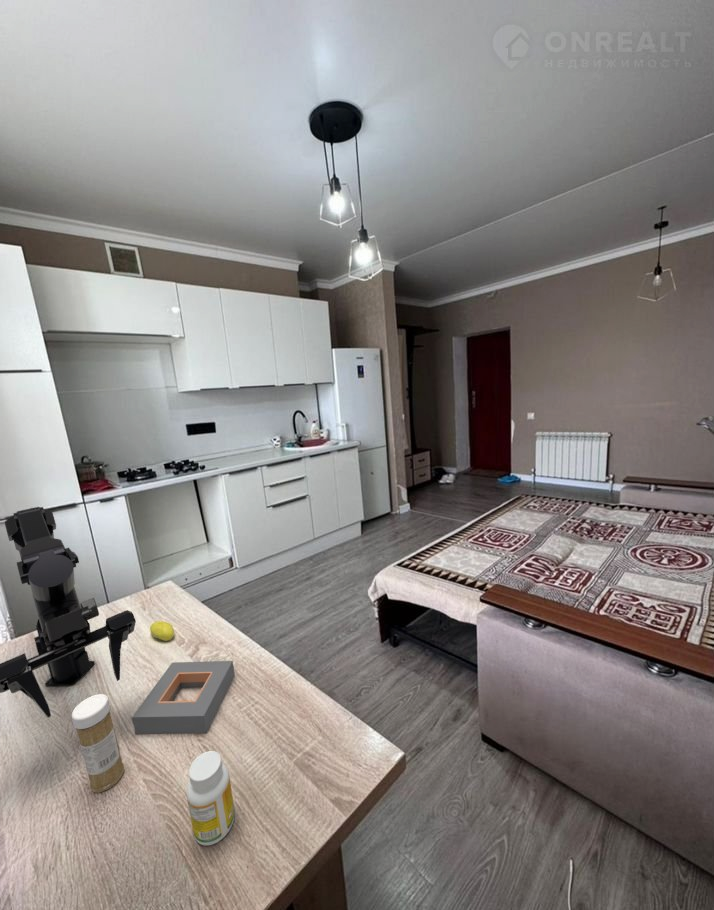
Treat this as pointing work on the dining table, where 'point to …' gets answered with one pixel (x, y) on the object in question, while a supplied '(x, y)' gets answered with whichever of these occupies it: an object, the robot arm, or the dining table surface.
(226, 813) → the supplement bottle
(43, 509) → the robot arm
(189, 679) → the collar block
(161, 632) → the lemon
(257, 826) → the dining table surface
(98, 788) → the sprinkles bottle
